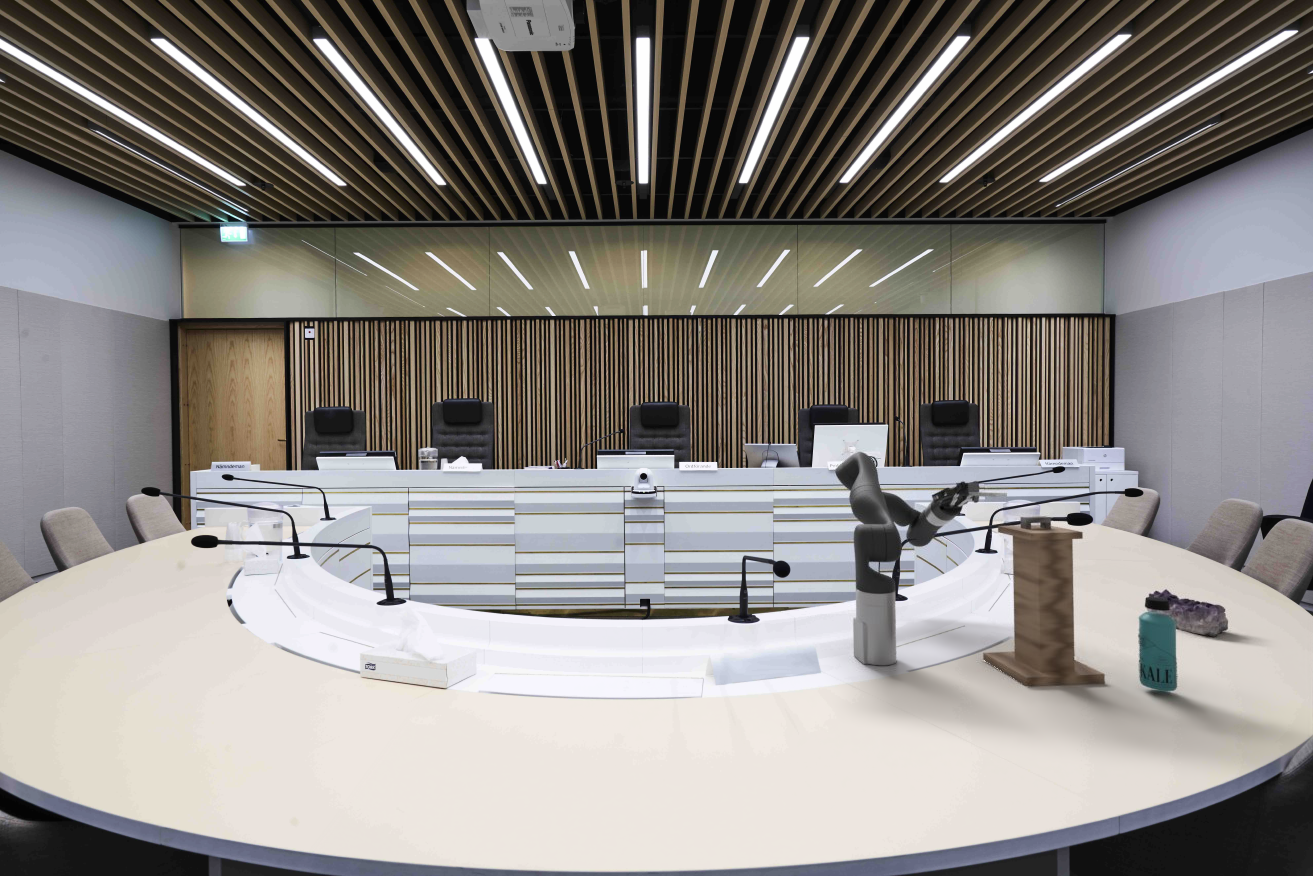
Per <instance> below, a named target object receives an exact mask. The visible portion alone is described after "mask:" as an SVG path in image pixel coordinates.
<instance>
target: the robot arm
mask: <svg viewBox="0 0 1313 876" xmlns="http://www.w3.org/2000/svg"><path fill="white" fill-rule="evenodd" d="M834 471H835V472H834V473H835V475H836V478H837V479H838V481H839V482H840V483H841V484H842V485H843V486H844V487H845V488H846V489H847V490H848V491H850V492H849V504H850V509H851V512H852V514H853V515H854V517H855V518H856V519H857V520H858V521H859V522H860V523H862V524H857V525H856V526H855V527H854V530H853V531H854V532H853V549H854V562H855V563H854V565H855V569H854V570H855V617H853V619H852V626H853V630H852V631H853V632H852V633H853V656H854V657H855V658H856V659H857V660H859V662H861V664H863V665H867V664H868V665H873V666H888V665H889V666H891V665H894V664H896V663H897V626H896V625H897V624H896V623H897V620H896V618H897V617H896V616H897V615H896V582H895V579H894V578H893V577H891V576H890V575H887V574H883V573H881V572H878V571H877V570H875V569H873V568H872V567H871V566H870V563H892V562H896V561H898V560H899V559H900V557H901V555H902V552H903V544H902V539H901V535H900V533H899V530H898V528H897V526H899V527H901V528H902V527H907V530H906V535H905V537H906V540H907V542H908V543H909V544H910V545H912V546H914V547H916V548H917V547H918V548H922V547H924V546H927V545H928V544H930V543H931V542H932V540H933V538H934V537H935V536H936V535H937V533H938V531H939V530H940V529H941V528H943V527H944V526H945V525H946V524H948V523H949V522H952V521H953V519H955V518H956V517H957V516H958V515H959V514H960V513H961V512H962V509H963V506H965V505H967V504H968V503H969V502H973V503H975V504H976V503H979V501H980V496H961V495H959V494H961V493H962V492H963V491H964V490H965V489H966V484H965V483H966V481H960V482H958V483H959V484H958V485H957V486H952V487H951V488H950V487H946V488H943V489H941V490H939V491H937V492H935V493H934V494H932V495H931V498H932V501H930V503H928V505H927V507H926V508H924V510H923V511H922V512H921V511H919V510H917V509H914V508H913V507H911V506H910V505H909V504H908V503H907V502H906V501H905V500H904V499H902V498H901V497H900V496H898V495H896V494H894V493H891V492H887V491H883V490H882V488H881V485H880V481H879V474H878V473H879V472H878V469H877V465H876V464H875V462H874V461H873V459H872V458H871V457H870V456H869V455H868V454H867V453H865V452H863V451H857V452H855V453H852V454H851V455H850V456H849V457H848V458H846V459H845V460H844V461H842V462H841V463H840V464H838V466H837V467H836V468H835V470H834ZM972 483H979V482H978V481H977V480H975V481H972ZM980 488H981V487H980V486H979V489H980ZM896 525H897V526H896ZM915 538H916V540H911V541H908V539H915Z"/></svg>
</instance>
